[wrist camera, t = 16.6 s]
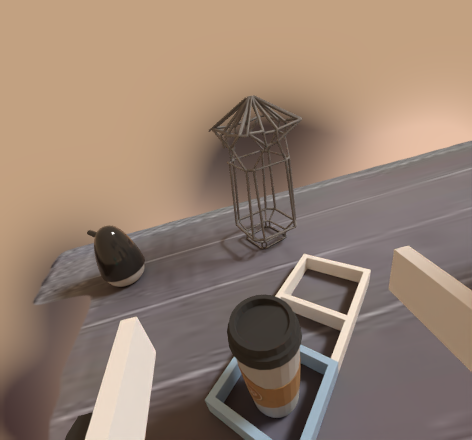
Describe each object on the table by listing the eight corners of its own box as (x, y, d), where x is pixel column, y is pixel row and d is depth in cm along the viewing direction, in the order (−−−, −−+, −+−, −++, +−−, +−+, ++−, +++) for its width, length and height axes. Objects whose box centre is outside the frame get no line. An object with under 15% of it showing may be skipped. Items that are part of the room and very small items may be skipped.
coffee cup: (234, 387, 36) (210, 316, 29) (278, 352, 40) (266, 281, 32) (271, 446, 30) (253, 375, 22) (320, 398, 33) (318, 322, 26)
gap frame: (369, 281, 48) (370, 269, 47) (300, 484, 27) (299, 473, 25) (304, 264, 56) (304, 253, 54) (209, 411, 34) (204, 400, 33)
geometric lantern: (273, 217, 77) (260, 90, 60) (309, 239, 64) (306, 87, 47) (228, 237, 71) (200, 103, 54) (258, 265, 59) (234, 103, 42)
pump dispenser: (125, 264, 69) (101, 216, 62) (157, 265, 66) (135, 215, 59) (99, 291, 61) (67, 240, 54) (134, 294, 58) (105, 240, 50)
